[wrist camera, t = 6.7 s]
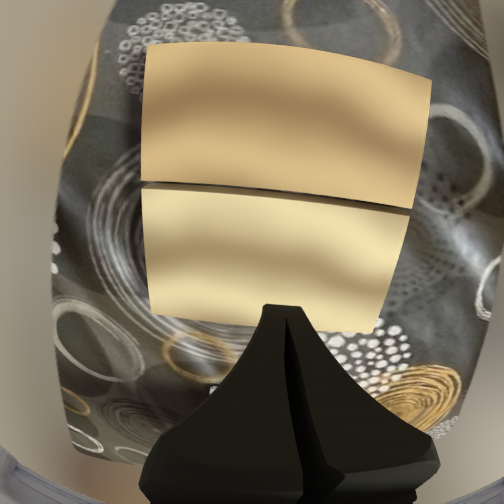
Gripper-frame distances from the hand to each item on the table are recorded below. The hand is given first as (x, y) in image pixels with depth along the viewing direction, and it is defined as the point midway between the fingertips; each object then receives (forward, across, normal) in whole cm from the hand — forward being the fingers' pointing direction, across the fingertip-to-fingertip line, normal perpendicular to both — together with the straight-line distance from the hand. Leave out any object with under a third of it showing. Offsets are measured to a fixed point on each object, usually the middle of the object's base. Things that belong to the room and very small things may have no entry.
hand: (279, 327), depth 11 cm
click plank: (+9, 0, +2) cm, 9 cm away
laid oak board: (+9, 0, -7) cm, 12 cm away
